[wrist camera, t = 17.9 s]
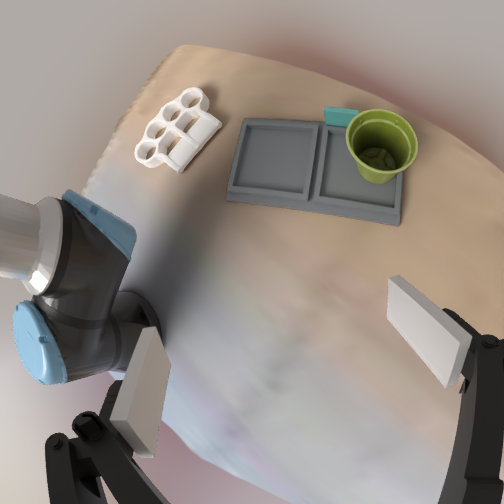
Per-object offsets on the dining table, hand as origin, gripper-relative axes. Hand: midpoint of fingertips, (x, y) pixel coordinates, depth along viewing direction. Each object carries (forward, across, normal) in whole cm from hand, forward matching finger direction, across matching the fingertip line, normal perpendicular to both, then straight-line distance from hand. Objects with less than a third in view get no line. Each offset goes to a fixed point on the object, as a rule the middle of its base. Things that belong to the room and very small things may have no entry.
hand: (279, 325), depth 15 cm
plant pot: (+27, +21, +4) cm, 34 cm away
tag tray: (+31, +12, +5) cm, 34 cm away
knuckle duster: (+45, -9, +15) cm, 48 cm away
